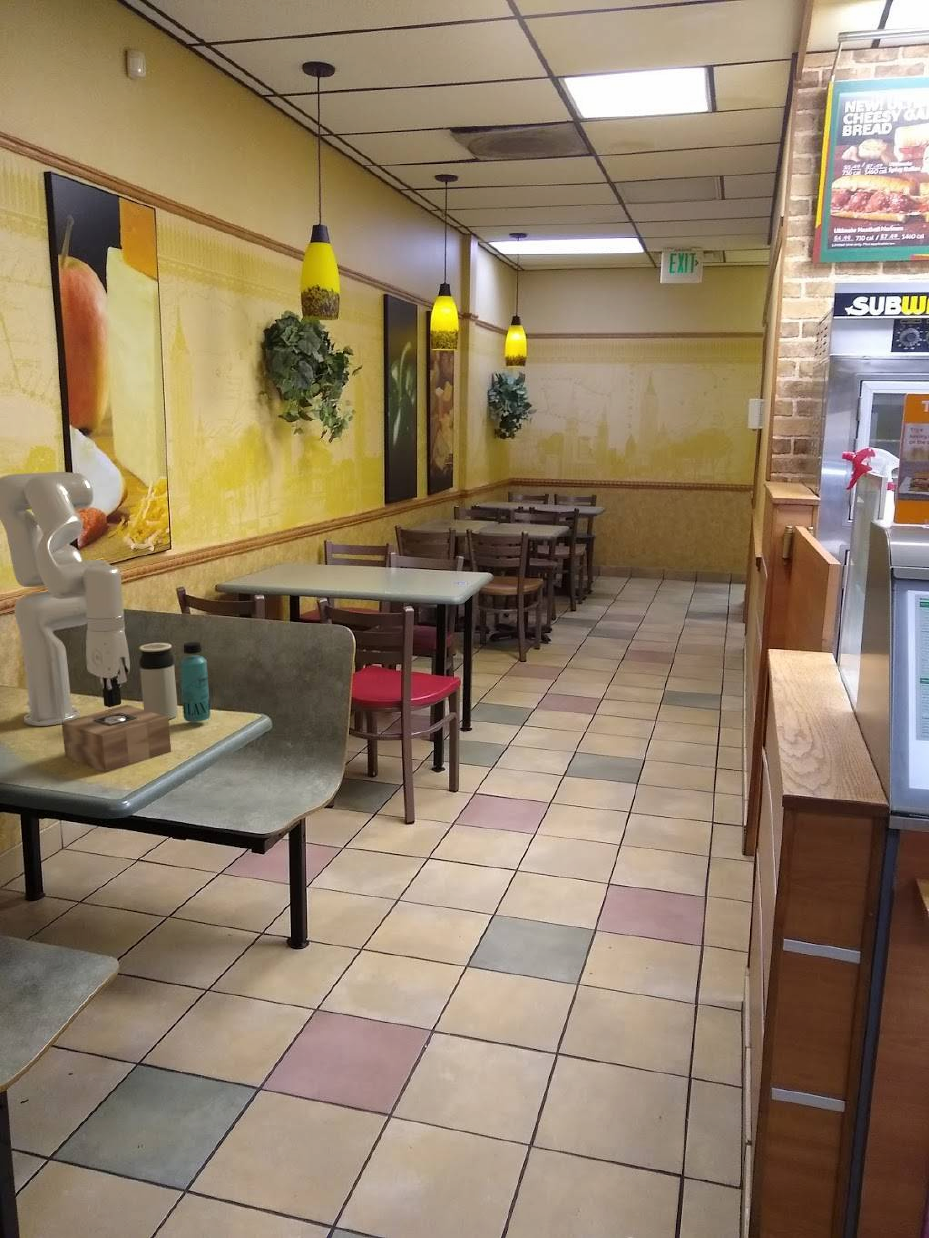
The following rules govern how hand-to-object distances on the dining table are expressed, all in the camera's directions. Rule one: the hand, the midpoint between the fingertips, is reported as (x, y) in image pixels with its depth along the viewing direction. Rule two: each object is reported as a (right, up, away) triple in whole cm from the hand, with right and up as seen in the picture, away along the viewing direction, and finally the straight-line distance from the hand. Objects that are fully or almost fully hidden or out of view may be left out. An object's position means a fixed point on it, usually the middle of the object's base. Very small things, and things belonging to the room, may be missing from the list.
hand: (112, 705), depth 215 cm
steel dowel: (+1, -11, +2) cm, 11 cm away
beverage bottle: (+13, -7, +23) cm, 27 cm away
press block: (+1, -11, +2) cm, 11 cm away
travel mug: (+2, -6, +28) cm, 29 cm away
